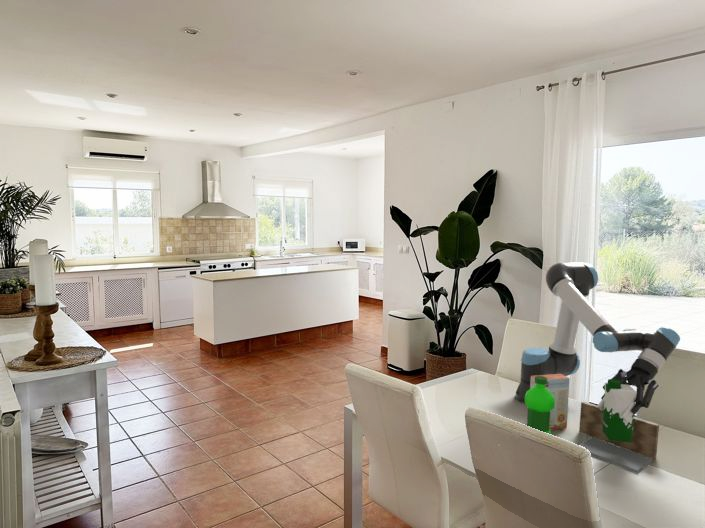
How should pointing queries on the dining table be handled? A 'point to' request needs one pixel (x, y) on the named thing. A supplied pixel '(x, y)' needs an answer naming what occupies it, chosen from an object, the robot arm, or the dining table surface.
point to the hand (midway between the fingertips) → (612, 413)
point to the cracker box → (557, 398)
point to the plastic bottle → (539, 405)
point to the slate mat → (616, 455)
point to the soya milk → (618, 411)
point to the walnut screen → (641, 441)
